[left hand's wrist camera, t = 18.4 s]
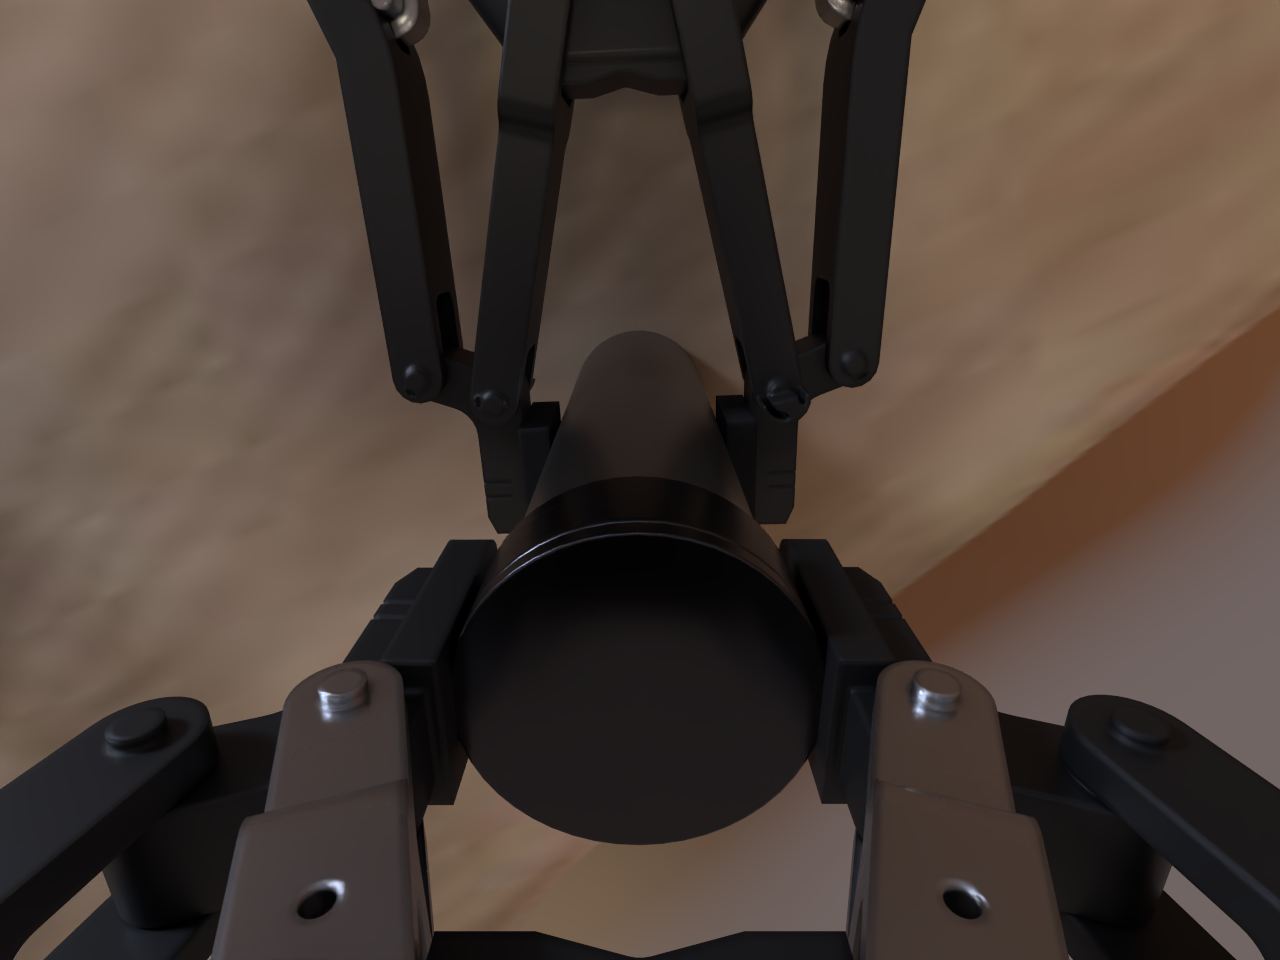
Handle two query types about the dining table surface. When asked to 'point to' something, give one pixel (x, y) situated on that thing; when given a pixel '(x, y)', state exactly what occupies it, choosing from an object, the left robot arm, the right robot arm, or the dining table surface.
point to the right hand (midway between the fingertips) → (645, 619)
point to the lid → (638, 665)
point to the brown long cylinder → (638, 423)
